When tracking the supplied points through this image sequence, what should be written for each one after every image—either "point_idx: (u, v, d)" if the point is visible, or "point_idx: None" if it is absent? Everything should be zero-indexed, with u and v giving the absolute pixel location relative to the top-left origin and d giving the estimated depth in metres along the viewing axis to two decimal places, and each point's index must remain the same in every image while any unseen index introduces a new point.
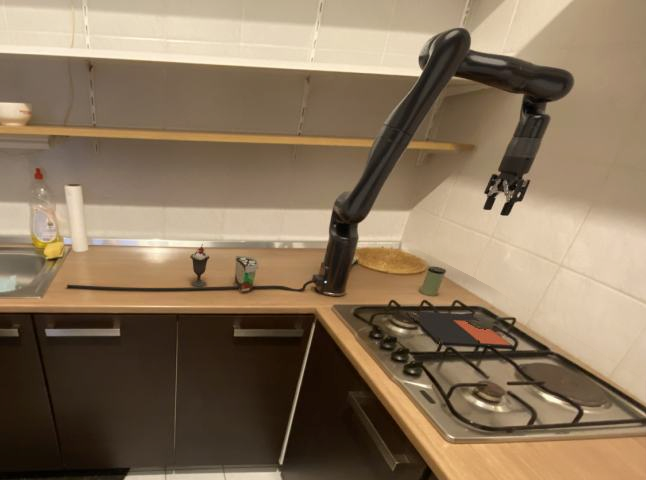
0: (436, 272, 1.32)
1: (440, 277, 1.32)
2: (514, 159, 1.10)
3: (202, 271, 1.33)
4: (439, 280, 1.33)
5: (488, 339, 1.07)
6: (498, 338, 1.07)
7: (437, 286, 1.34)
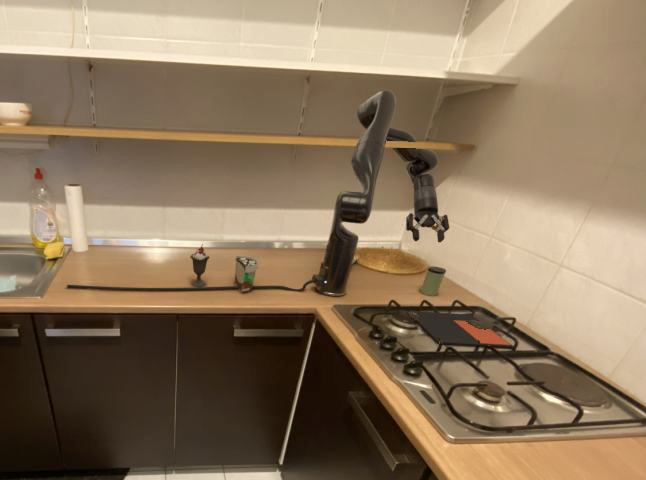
0: (436, 272, 1.32)
1: (440, 277, 1.32)
2: None
3: (202, 271, 1.33)
4: (439, 280, 1.33)
5: (488, 339, 1.07)
6: (498, 338, 1.07)
7: (437, 286, 1.34)
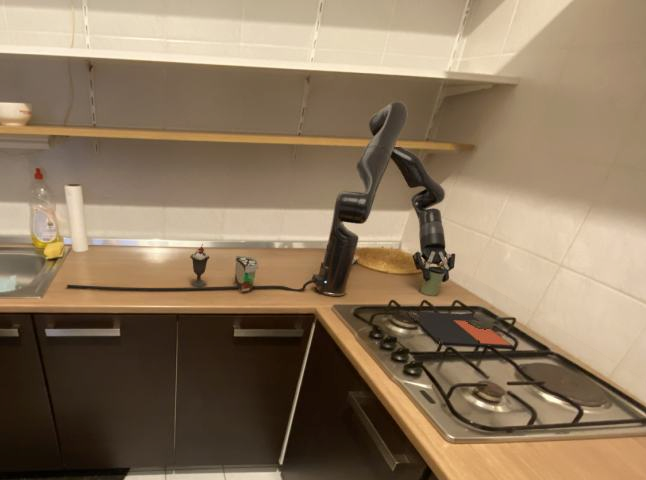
0: (436, 272, 1.32)
1: (440, 277, 1.32)
2: None
3: (202, 271, 1.33)
4: (439, 280, 1.33)
5: (488, 339, 1.07)
6: (498, 338, 1.07)
7: (437, 286, 1.34)
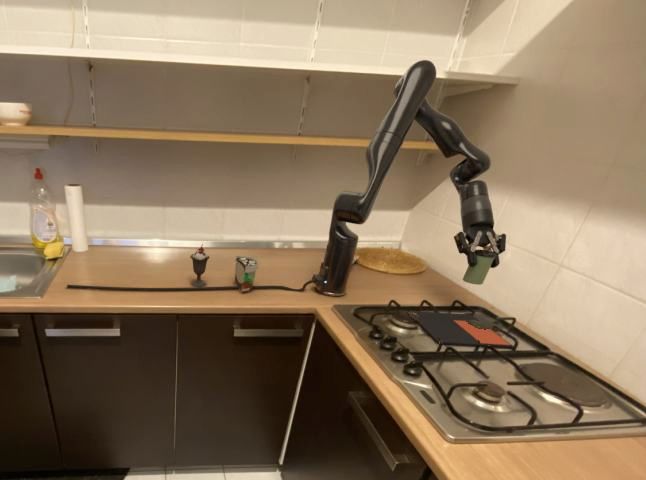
0: (485, 256, 1.09)
1: (489, 262, 1.10)
2: None
3: (202, 271, 1.33)
4: (488, 265, 1.10)
5: (488, 339, 1.07)
6: (498, 338, 1.07)
7: (485, 273, 1.11)
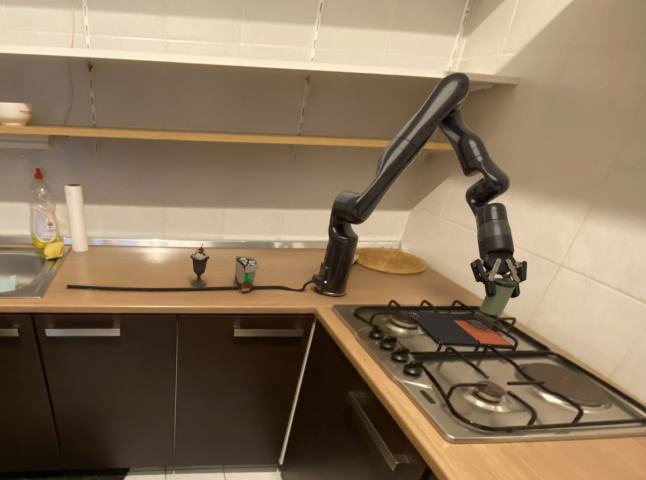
0: (504, 286, 1.01)
1: (509, 292, 1.02)
2: None
3: (202, 271, 1.33)
4: (508, 296, 1.02)
5: (488, 339, 1.07)
6: (498, 338, 1.07)
7: (504, 303, 1.03)
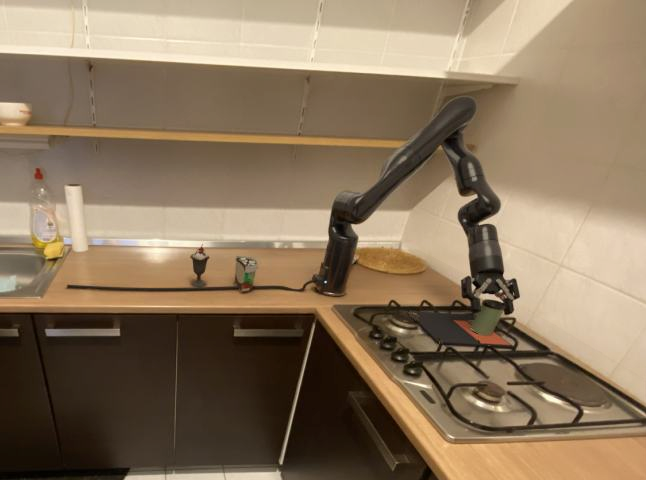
0: (494, 308, 1.04)
1: (499, 314, 1.05)
2: None
3: (202, 271, 1.33)
4: (497, 317, 1.05)
5: (488, 339, 1.07)
6: (498, 338, 1.07)
7: (494, 324, 1.07)
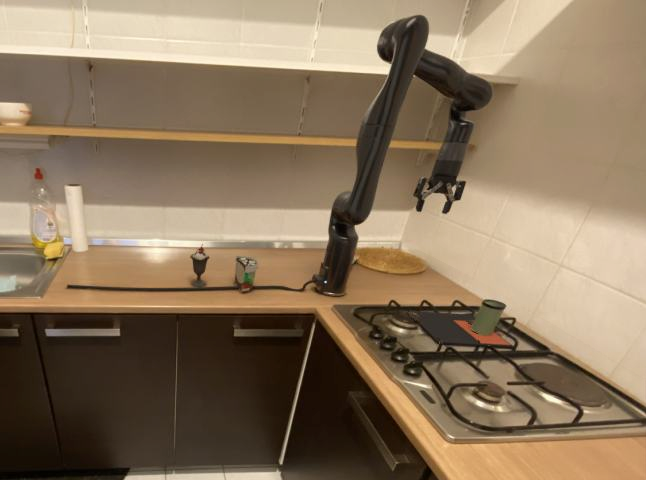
0: (494, 308, 1.04)
1: (499, 314, 1.05)
2: None
3: (202, 271, 1.33)
4: (497, 317, 1.05)
5: (488, 339, 1.07)
6: (498, 338, 1.07)
7: (494, 324, 1.07)
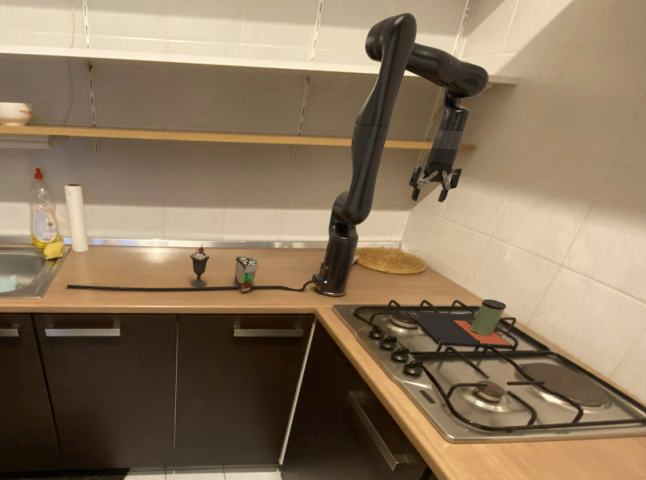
0: (494, 308, 1.04)
1: (499, 314, 1.05)
2: None
3: (202, 271, 1.33)
4: (497, 317, 1.05)
5: (488, 339, 1.07)
6: (498, 338, 1.07)
7: (494, 324, 1.07)
